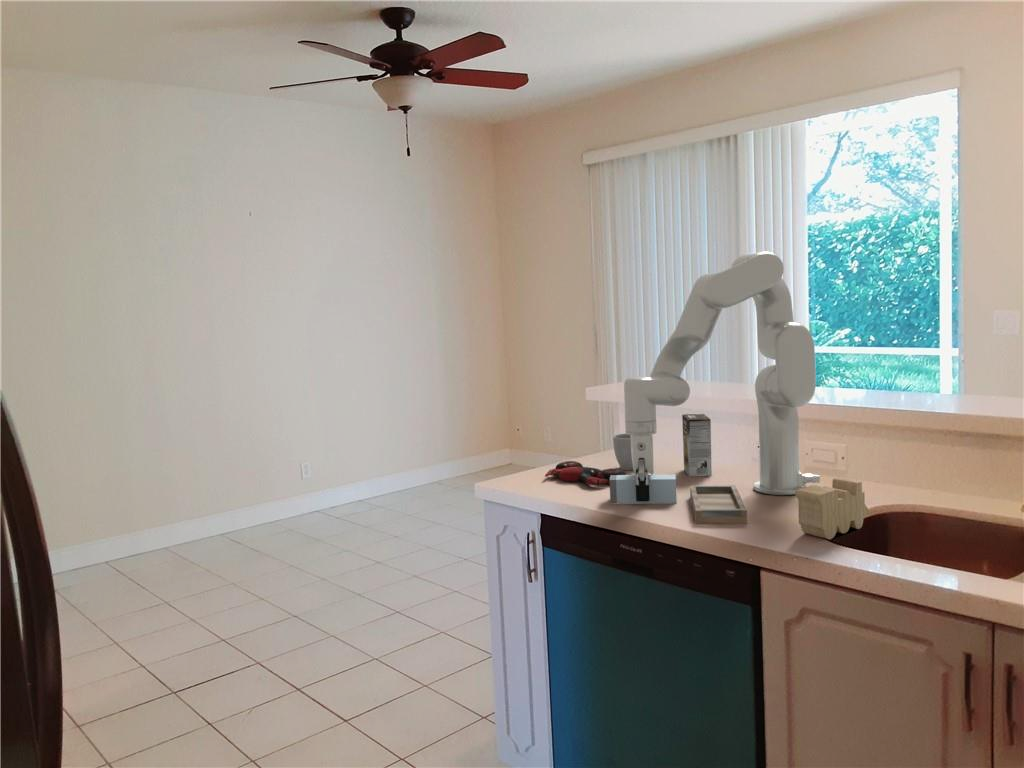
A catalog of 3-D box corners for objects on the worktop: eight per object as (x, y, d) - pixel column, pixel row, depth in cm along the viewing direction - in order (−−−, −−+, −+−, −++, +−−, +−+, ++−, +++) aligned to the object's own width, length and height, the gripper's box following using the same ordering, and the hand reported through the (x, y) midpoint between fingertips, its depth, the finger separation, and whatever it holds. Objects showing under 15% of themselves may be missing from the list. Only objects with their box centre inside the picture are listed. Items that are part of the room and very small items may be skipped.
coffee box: (683, 469, 226) (681, 414, 224) (705, 468, 225) (704, 413, 224) (689, 476, 217) (687, 419, 215) (712, 475, 216) (711, 418, 215)
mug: (627, 472, 225) (626, 439, 224) (608, 468, 232) (607, 436, 231) (658, 466, 232) (657, 434, 230) (638, 461, 239) (637, 430, 238)
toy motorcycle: (570, 474, 234) (529, 475, 224) (571, 456, 234) (530, 457, 224) (631, 489, 215) (590, 491, 205) (633, 470, 215) (592, 472, 205)
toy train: (868, 526, 165) (868, 479, 164) (819, 543, 156) (818, 494, 155) (845, 520, 170) (844, 475, 169) (795, 537, 161) (794, 489, 160)
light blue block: (675, 498, 195) (675, 474, 195) (676, 503, 190) (675, 479, 190) (611, 498, 198) (610, 475, 197) (610, 503, 193) (609, 479, 193)
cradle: (690, 497, 195) (690, 485, 195) (735, 497, 193) (735, 485, 193) (696, 523, 173) (695, 510, 173) (747, 523, 171) (746, 510, 171)
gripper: (656, 433, 183) (658, 505, 185) (655, 421, 200) (657, 487, 202) (624, 433, 184) (626, 505, 186) (626, 421, 201) (628, 487, 203)
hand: (642, 496), depth 194 cm, fingers open, 8 cm apart
